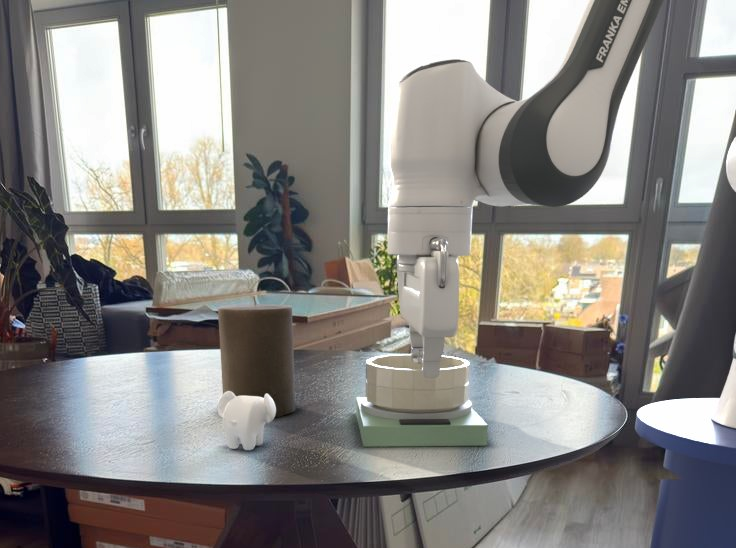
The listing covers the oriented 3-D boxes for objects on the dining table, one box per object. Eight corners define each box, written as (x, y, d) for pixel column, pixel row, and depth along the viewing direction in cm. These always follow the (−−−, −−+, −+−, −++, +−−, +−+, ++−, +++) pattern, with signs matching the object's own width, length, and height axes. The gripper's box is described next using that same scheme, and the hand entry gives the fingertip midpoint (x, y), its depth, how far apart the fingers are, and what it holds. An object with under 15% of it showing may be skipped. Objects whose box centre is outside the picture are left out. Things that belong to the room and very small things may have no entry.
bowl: (456, 392, 94) (458, 353, 92) (476, 413, 82) (479, 369, 81) (362, 393, 93) (363, 354, 92) (369, 414, 82) (370, 370, 80)
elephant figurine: (289, 439, 84) (288, 388, 82) (259, 457, 77) (256, 402, 75) (237, 434, 86) (234, 384, 84) (203, 451, 79) (199, 397, 77)
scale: (460, 414, 97) (461, 390, 95) (486, 445, 82) (488, 418, 80) (356, 414, 96) (356, 390, 95) (363, 446, 81) (363, 418, 80)
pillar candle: (279, 421, 93) (274, 299, 87) (210, 415, 95) (202, 297, 90) (306, 405, 101) (303, 294, 96) (242, 401, 104) (236, 292, 99)
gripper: (479, 237, 67) (470, 386, 72) (443, 238, 86) (438, 355, 91) (411, 237, 67) (407, 386, 72) (390, 238, 86) (388, 356, 91)
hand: (424, 369), depth 81 cm, fingers open, 8 cm apart
